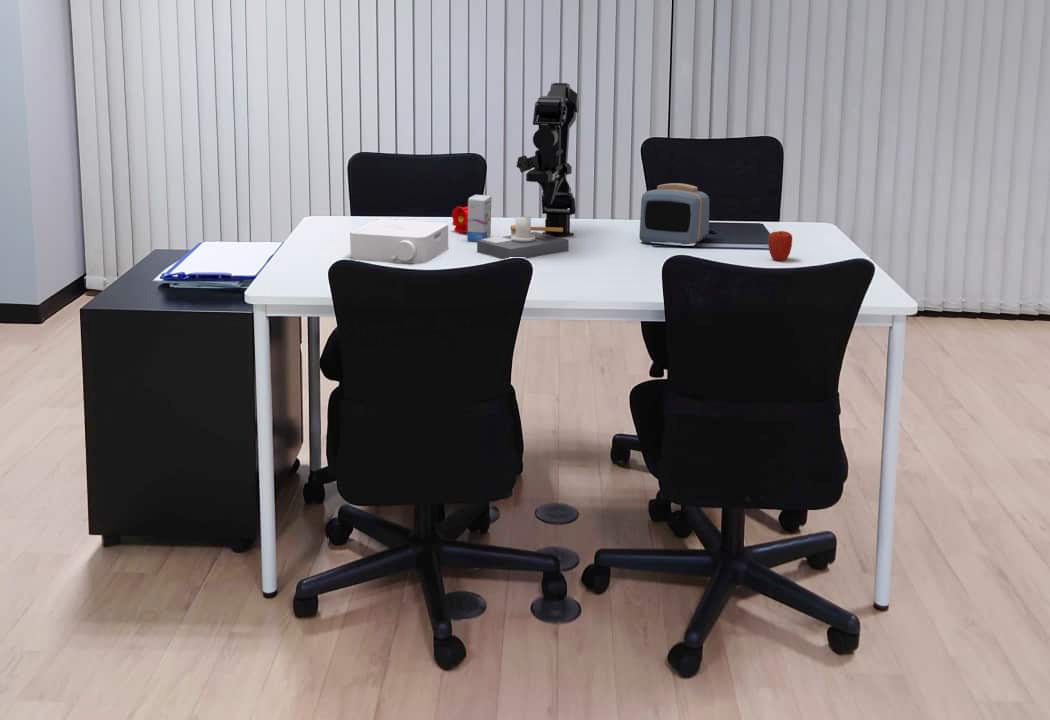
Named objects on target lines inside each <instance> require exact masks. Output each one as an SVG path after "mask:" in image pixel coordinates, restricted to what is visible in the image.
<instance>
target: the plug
mask: <svg viewBox="0 0 1050 720" xmlns="http://www.w3.org/2000/svg"><path fill="white" fill-rule="evenodd" d="M531 221H532V219H531V217H530V216H516V217H515V225H516V235H512V236H511V240H512V241H516V242H520V243H525V242H531V241H534V240H535V236H534V235H531V232H532V230H531V227H532V226H531V225H532V223H531Z"/></svg>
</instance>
